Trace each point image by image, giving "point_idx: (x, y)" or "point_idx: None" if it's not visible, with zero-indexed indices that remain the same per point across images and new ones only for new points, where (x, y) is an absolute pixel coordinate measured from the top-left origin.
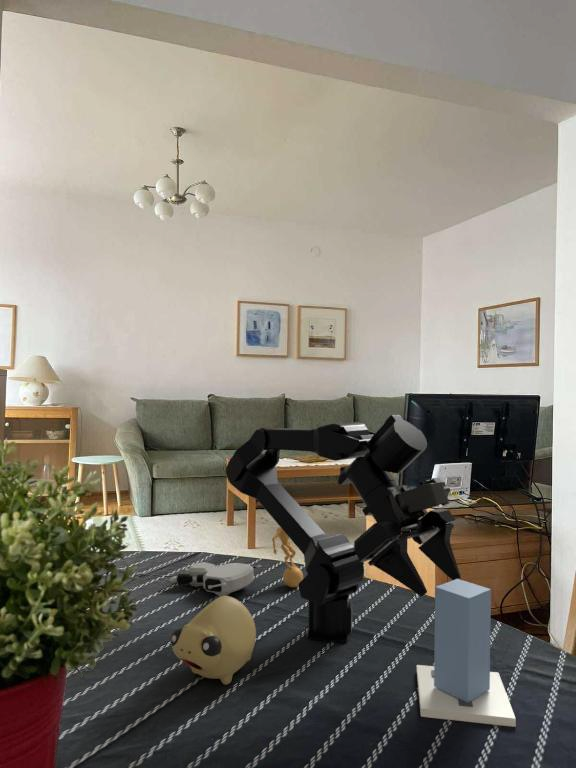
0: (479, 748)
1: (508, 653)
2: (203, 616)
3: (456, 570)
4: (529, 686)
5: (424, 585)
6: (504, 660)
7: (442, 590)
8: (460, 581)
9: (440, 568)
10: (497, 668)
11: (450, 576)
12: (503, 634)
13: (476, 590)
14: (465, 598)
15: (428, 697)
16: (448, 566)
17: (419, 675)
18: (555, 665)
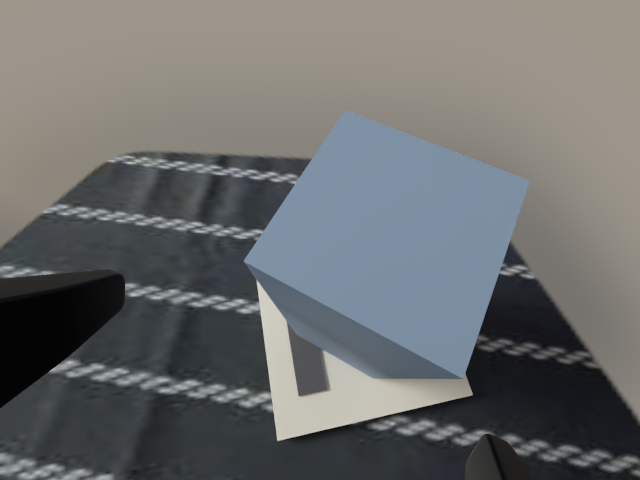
0: (500, 278)
1: (134, 244)
2: None
3: (78, 283)
4: (262, 209)
5: (504, 465)
6: (168, 250)
7: (479, 326)
8: (288, 241)
9: (4, 401)
10: (207, 261)
11: (90, 329)
12: (39, 255)
13: (397, 159)
14: (522, 200)
15: (421, 384)
16: (25, 336)
17: (329, 423)
18: (169, 170)
